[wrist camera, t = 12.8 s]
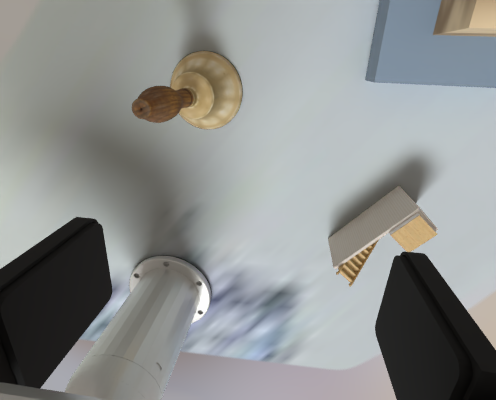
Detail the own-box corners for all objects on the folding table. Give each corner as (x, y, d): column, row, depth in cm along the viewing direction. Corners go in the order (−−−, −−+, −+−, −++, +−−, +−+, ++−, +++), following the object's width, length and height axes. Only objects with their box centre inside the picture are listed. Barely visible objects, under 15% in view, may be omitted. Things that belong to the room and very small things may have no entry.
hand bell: (159, 104, 36) (69, 132, 22) (189, 35, 33) (106, 13, 18) (220, 142, 37) (173, 193, 22) (256, 78, 33) (227, 90, 19)
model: (414, 201, 37) (442, 234, 30) (344, 252, 41) (354, 290, 34) (397, 183, 36) (421, 212, 29) (327, 236, 40) (334, 272, 34)
